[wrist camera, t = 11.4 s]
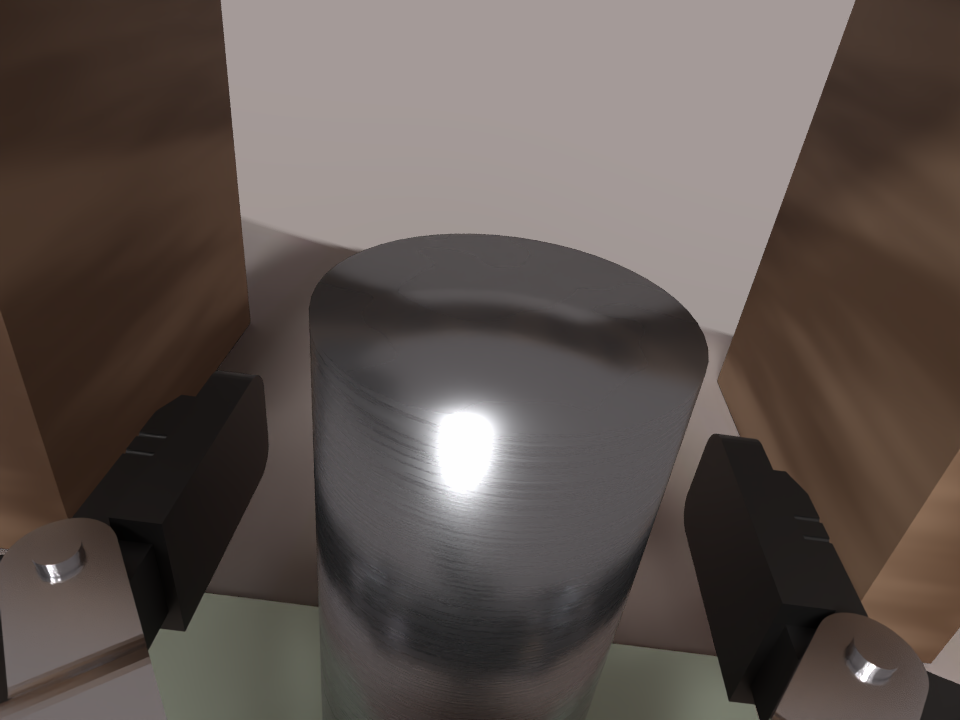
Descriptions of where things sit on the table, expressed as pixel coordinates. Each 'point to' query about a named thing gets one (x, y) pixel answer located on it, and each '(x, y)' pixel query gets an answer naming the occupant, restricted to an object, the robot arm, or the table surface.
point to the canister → (486, 470)
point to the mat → (297, 670)
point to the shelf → (225, 307)
